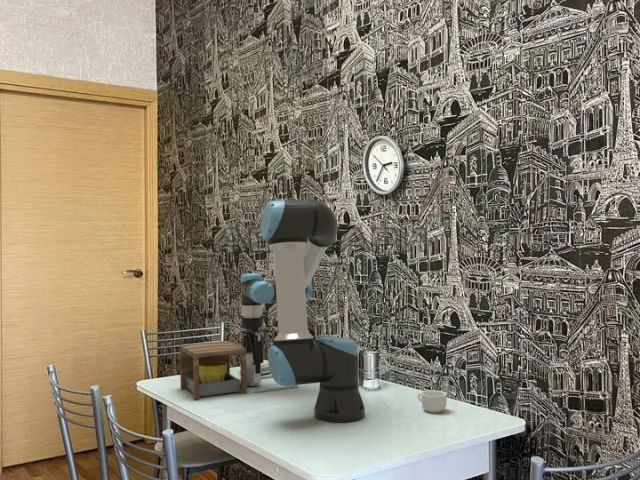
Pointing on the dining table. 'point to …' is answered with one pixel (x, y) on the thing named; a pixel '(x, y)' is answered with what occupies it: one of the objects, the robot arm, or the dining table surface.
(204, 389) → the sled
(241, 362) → the tunnel
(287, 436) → the dining table surface
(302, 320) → the robot arm
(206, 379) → the plant pot
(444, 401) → the teacup
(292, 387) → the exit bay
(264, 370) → the lid
